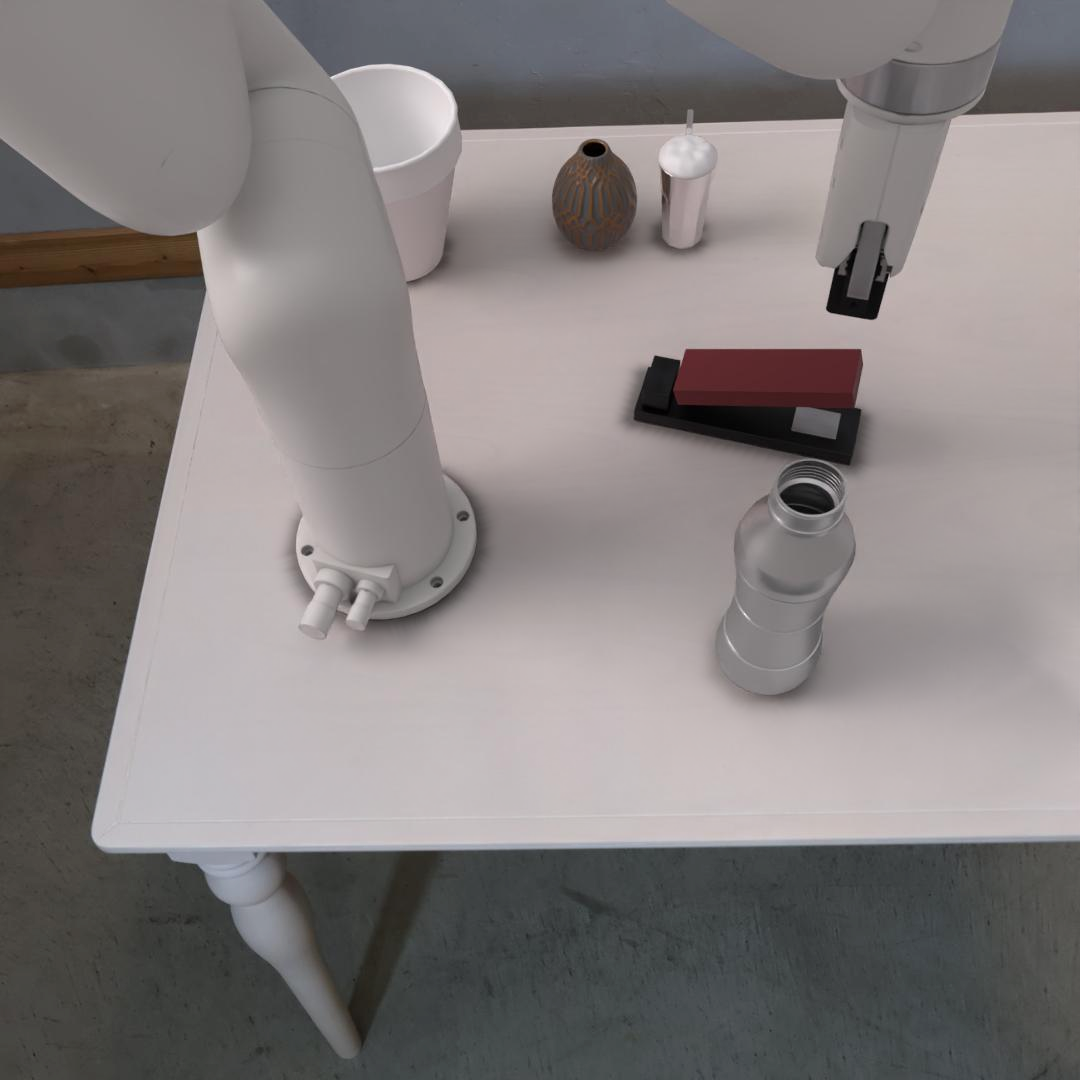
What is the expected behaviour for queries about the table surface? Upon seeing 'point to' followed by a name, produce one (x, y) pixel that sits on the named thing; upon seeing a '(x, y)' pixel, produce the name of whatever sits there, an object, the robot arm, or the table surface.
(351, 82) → the cup
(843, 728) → the table surface
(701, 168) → the milkshake
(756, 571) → the plastic bottle
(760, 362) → the stapler arm
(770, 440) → the stapler base
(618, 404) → the table surface
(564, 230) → the vase
